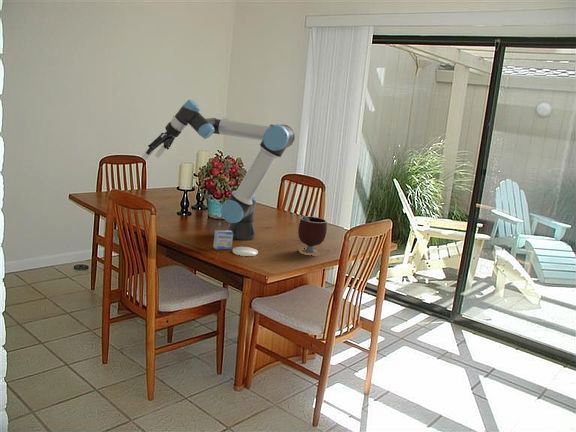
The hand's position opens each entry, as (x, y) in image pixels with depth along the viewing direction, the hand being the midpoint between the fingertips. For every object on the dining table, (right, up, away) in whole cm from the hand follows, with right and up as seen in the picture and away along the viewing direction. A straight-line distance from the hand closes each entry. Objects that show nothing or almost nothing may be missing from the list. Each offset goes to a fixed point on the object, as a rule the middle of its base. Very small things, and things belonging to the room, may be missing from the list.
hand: (150, 157), depth 283 cm
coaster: (+49, -47, -19) cm, 71 cm away
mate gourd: (+80, -48, -5) cm, 94 cm away
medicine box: (+38, -45, -16) cm, 62 cm away
